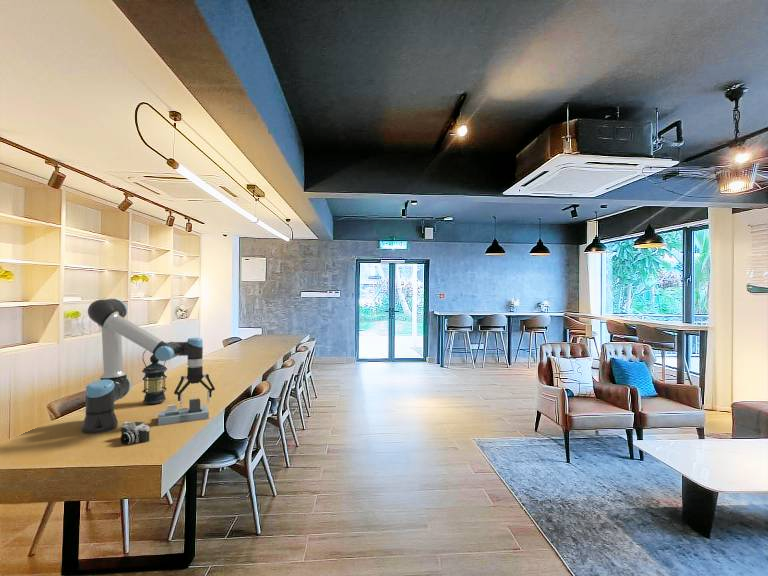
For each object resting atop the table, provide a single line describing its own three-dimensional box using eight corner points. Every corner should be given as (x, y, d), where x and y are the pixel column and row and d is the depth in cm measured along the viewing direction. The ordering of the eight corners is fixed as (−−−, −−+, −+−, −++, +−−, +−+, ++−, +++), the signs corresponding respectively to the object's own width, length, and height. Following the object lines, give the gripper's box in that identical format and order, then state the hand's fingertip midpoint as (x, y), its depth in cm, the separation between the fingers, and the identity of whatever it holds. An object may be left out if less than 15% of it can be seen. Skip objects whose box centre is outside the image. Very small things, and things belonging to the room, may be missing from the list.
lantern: (137, 406, 243) (137, 348, 243) (147, 400, 256) (147, 345, 256) (162, 405, 244) (162, 347, 244) (171, 399, 258) (171, 344, 258)
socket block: (158, 426, 208) (158, 413, 208) (158, 418, 220) (158, 405, 220) (208, 419, 219) (208, 406, 219) (206, 412, 232) (206, 400, 232)
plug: (190, 420, 218) (190, 401, 218) (189, 417, 223) (189, 399, 223) (200, 418, 221) (200, 400, 221) (199, 416, 225) (199, 398, 225)
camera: (110, 443, 185) (110, 422, 185) (127, 437, 193) (127, 416, 193) (135, 448, 180) (135, 426, 180) (152, 441, 188) (152, 420, 188)
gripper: (169, 369, 212) (169, 410, 212) (220, 365, 224) (220, 403, 224) (169, 367, 219) (168, 406, 219) (218, 363, 231) (218, 400, 231)
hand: (194, 405), depth 222 cm, fingers open, 13 cm apart
